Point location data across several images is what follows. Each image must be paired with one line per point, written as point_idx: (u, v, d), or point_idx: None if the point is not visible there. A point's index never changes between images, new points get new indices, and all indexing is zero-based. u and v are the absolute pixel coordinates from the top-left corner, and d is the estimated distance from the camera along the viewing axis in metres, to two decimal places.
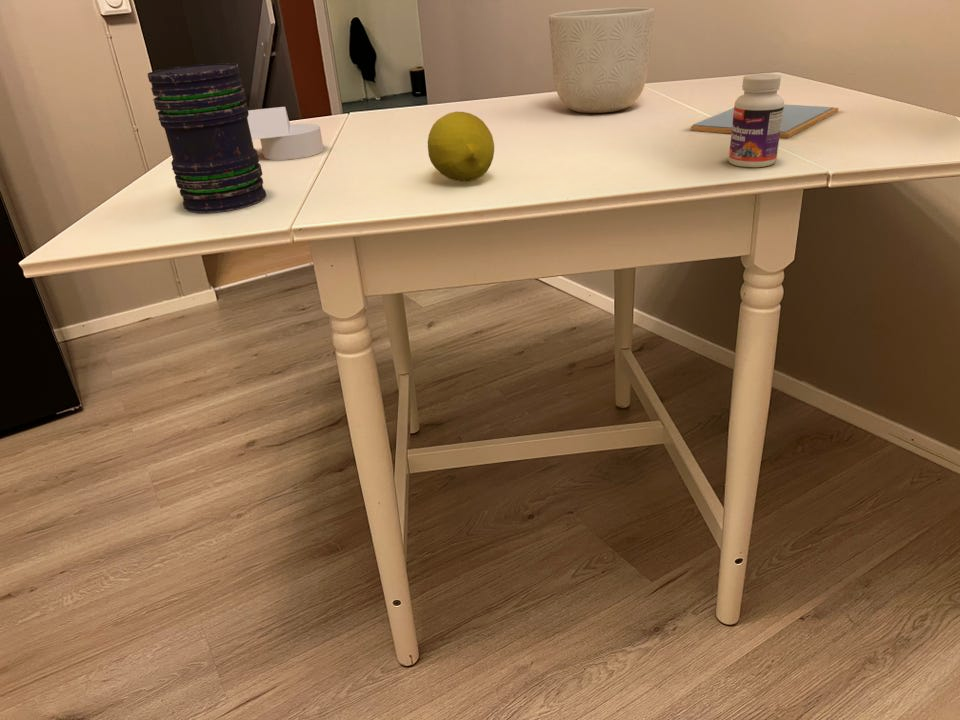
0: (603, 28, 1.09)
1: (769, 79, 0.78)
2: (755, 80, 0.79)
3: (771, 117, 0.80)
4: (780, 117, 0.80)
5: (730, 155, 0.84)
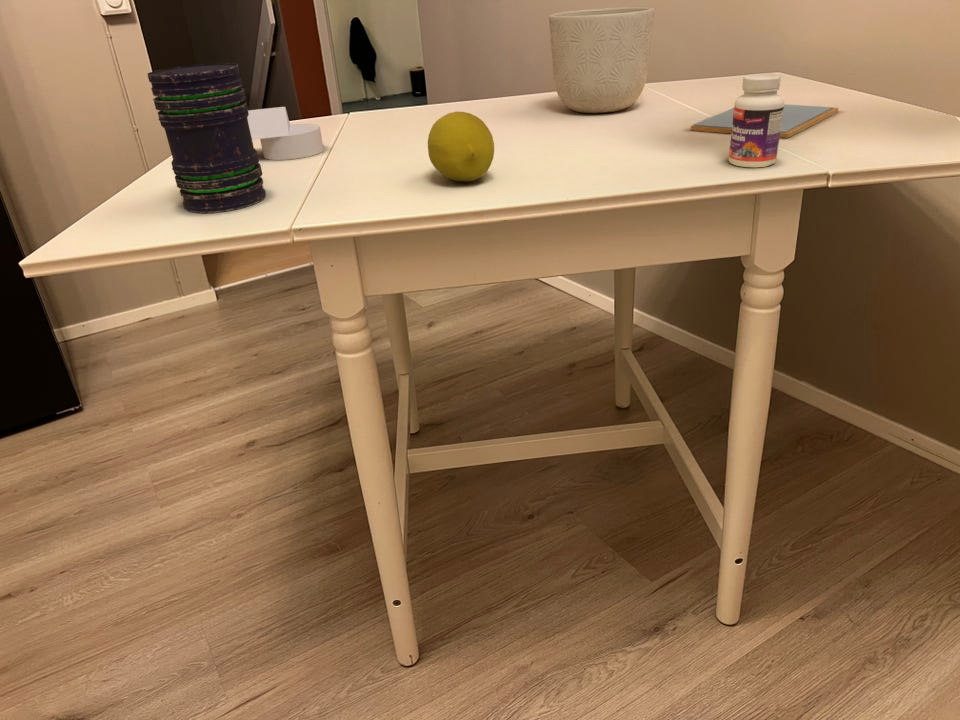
0: (603, 28, 1.09)
1: (769, 79, 0.78)
2: (755, 80, 0.79)
3: (771, 117, 0.80)
4: (780, 117, 0.80)
5: (730, 155, 0.84)
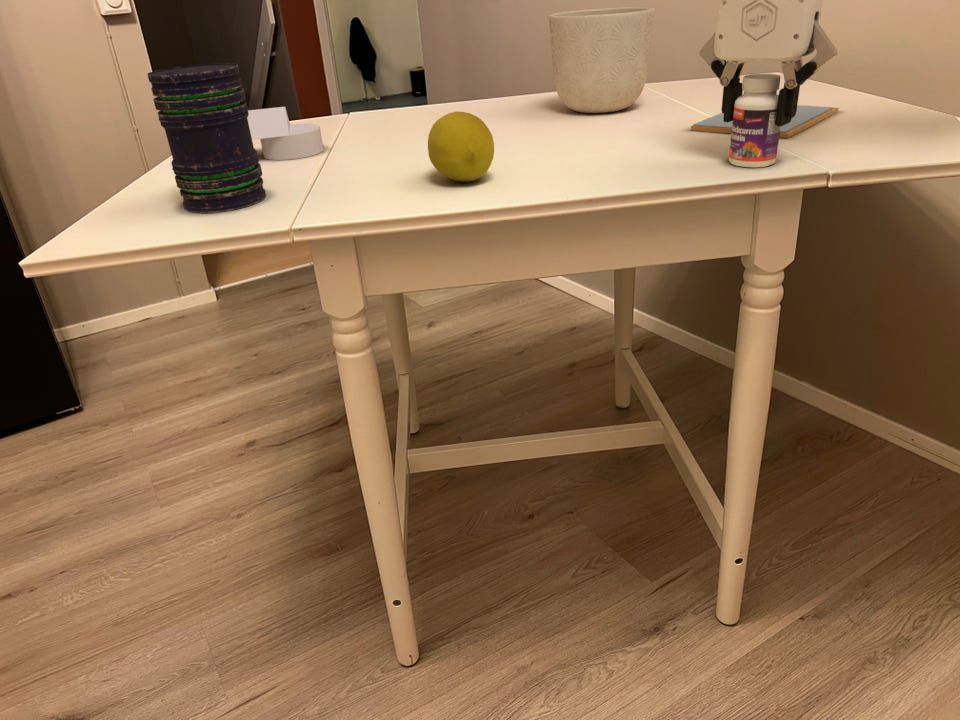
0: (603, 28, 1.09)
1: (769, 79, 0.78)
2: (755, 80, 0.79)
3: (771, 116, 0.80)
4: None
5: (730, 155, 0.84)
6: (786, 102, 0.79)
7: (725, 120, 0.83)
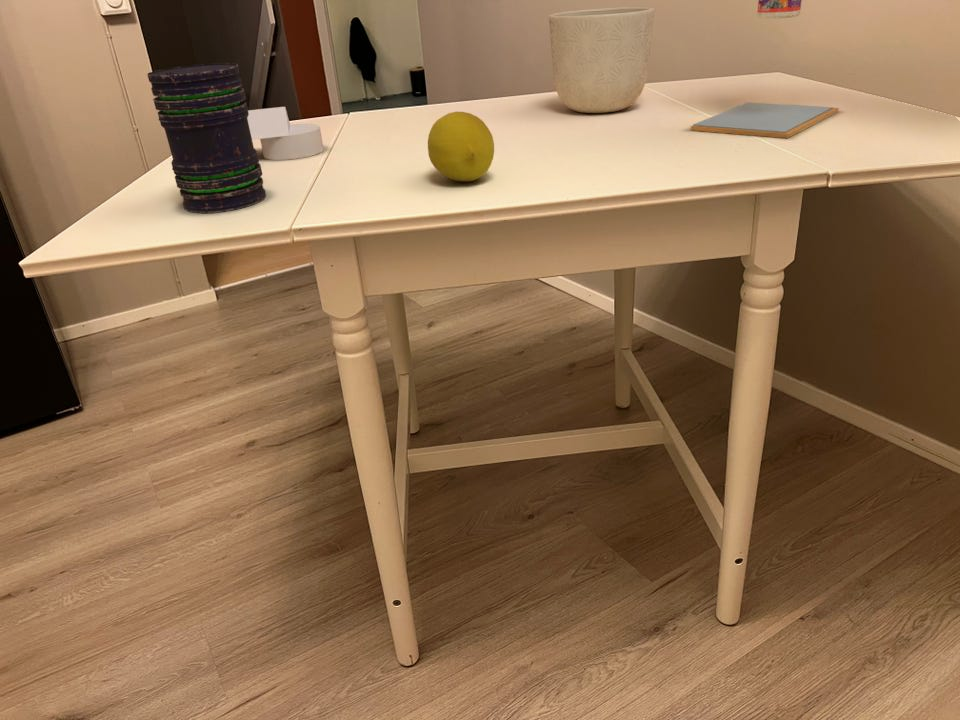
0: (603, 28, 1.09)
1: None
2: None
3: None
4: None
5: (759, 10, 0.95)
6: None
7: None
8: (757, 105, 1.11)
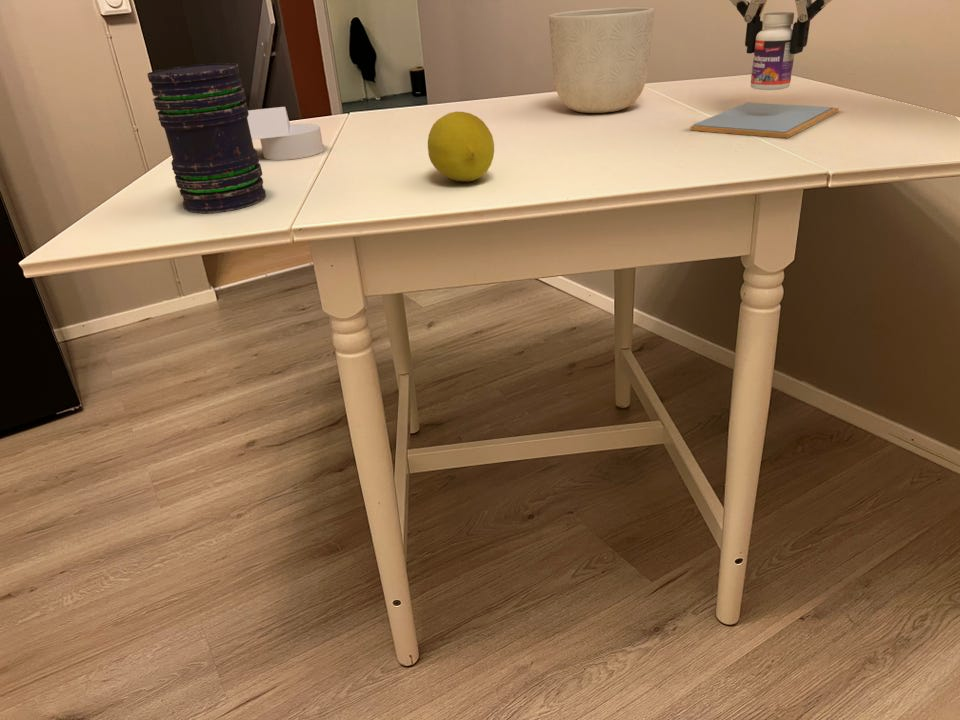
0: (603, 28, 1.09)
1: (785, 14, 0.96)
2: (773, 16, 0.97)
3: (786, 46, 0.97)
4: None
5: (752, 81, 1.02)
6: (798, 33, 0.96)
7: (748, 51, 1.01)
8: (757, 105, 1.11)
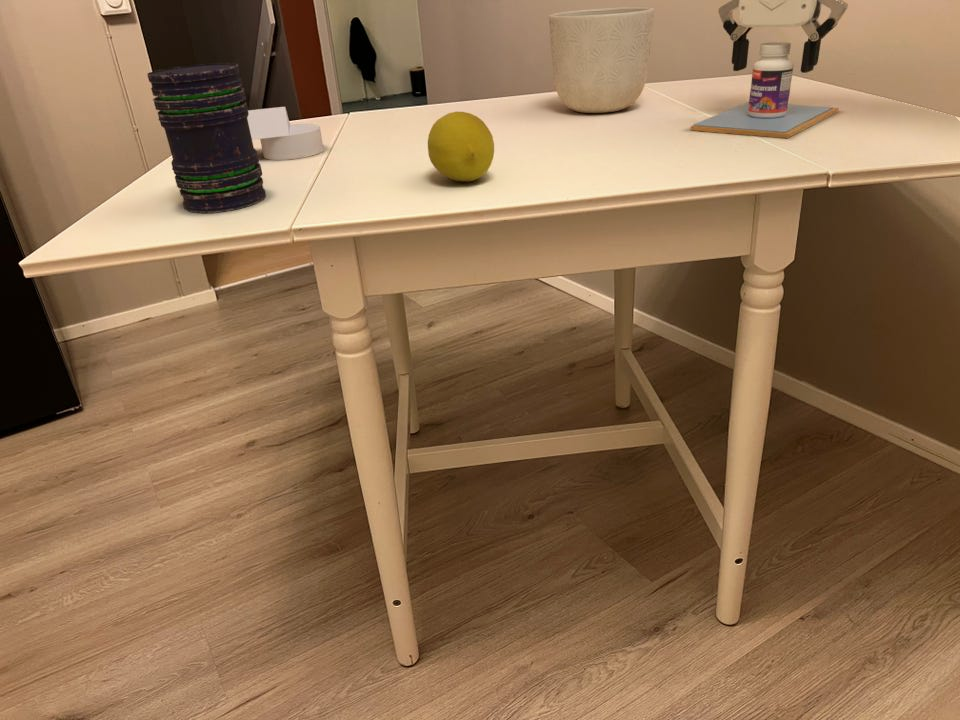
0: (603, 28, 1.09)
1: (781, 45, 0.98)
2: (770, 46, 0.98)
3: (783, 76, 0.99)
4: (790, 76, 1.00)
5: (749, 109, 1.04)
6: (809, 52, 0.96)
7: (734, 69, 1.03)
8: None
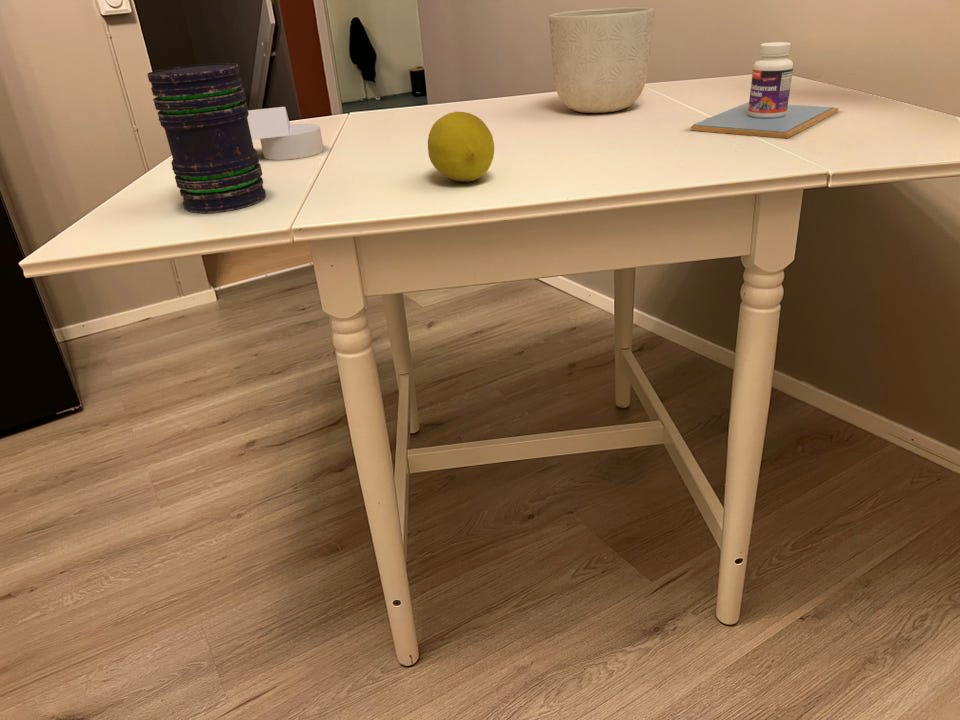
0: (603, 28, 1.09)
1: (781, 45, 0.98)
2: (770, 46, 0.98)
3: (783, 76, 0.99)
4: (790, 77, 1.00)
5: (749, 109, 1.04)
6: None
7: None
8: None
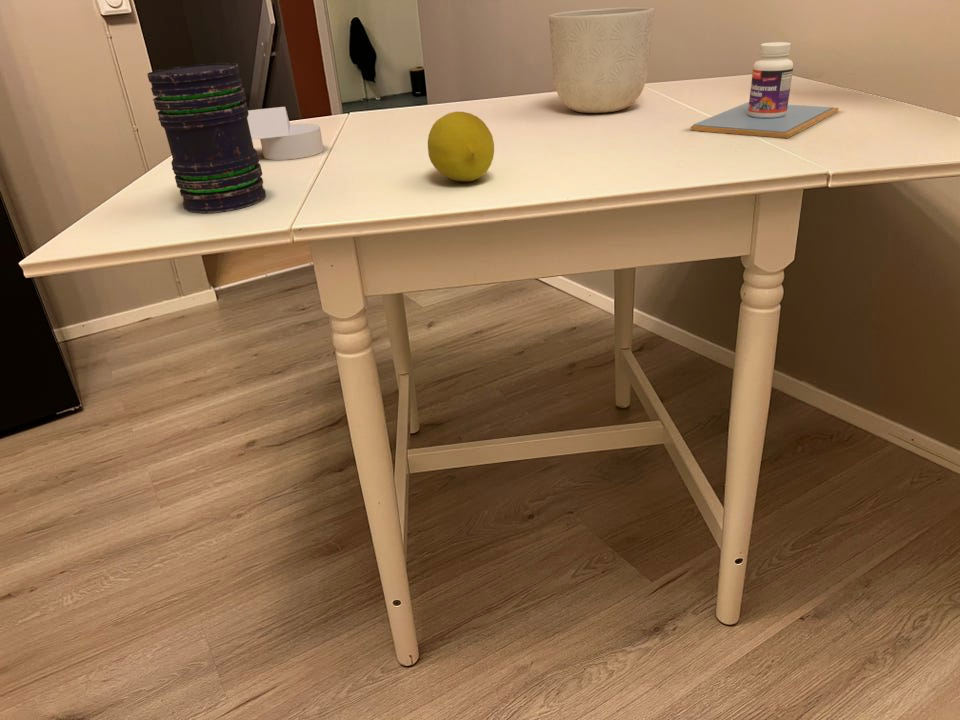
0: (603, 28, 1.09)
1: (781, 45, 0.98)
2: (770, 46, 0.98)
3: (783, 76, 0.99)
4: (790, 77, 1.00)
5: (749, 109, 1.04)
6: None
7: None
8: None
